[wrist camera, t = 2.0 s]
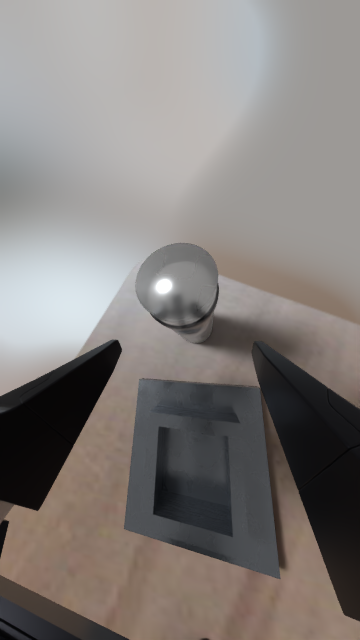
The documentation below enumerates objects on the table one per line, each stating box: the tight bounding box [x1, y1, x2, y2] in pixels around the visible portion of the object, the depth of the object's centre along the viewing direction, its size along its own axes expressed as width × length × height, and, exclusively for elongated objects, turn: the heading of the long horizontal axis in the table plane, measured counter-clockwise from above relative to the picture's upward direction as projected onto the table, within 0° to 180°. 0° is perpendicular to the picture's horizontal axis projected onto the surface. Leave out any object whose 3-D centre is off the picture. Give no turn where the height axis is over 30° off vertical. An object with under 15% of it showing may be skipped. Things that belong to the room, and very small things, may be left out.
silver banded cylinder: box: [135, 243, 219, 343], centre depth 14 cm, size 5×5×13 cm
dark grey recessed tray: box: [124, 378, 280, 579], centre depth 15 cm, size 15×15×4 cm
